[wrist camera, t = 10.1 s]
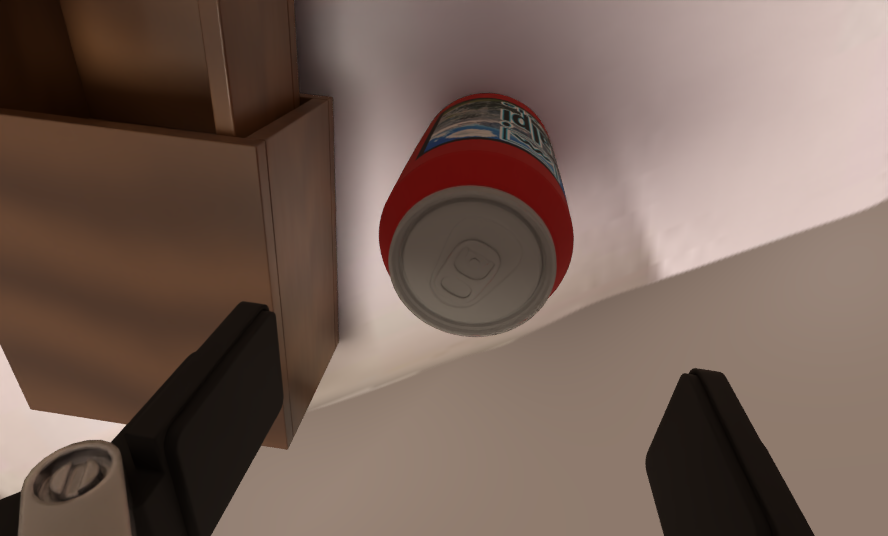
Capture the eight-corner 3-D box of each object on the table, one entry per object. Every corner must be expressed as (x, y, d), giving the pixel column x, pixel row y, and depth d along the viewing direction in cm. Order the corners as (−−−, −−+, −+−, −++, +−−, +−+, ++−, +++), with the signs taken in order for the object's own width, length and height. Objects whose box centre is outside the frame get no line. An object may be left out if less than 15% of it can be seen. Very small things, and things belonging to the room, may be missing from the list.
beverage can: (578, 137, 25) (628, 245, 15) (502, 236, 28) (499, 383, 18) (466, 60, 24) (432, 119, 13) (400, 173, 27) (332, 291, 17)
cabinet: (70, 65, 26) (-116, 100, 18) (333, 96, 25) (256, 146, 18) (138, 313, 34) (29, 409, 26) (339, 342, 33) (287, 450, 26)
